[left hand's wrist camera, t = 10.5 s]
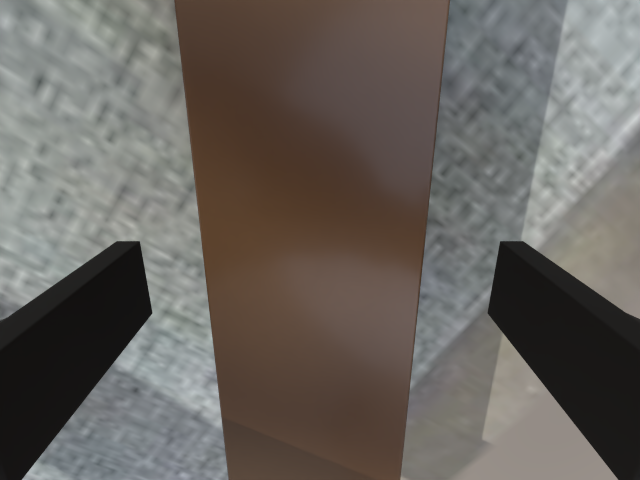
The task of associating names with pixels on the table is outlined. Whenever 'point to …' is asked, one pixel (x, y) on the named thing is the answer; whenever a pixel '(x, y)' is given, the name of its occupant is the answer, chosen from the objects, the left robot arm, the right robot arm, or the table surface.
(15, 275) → the table surface
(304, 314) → the post
